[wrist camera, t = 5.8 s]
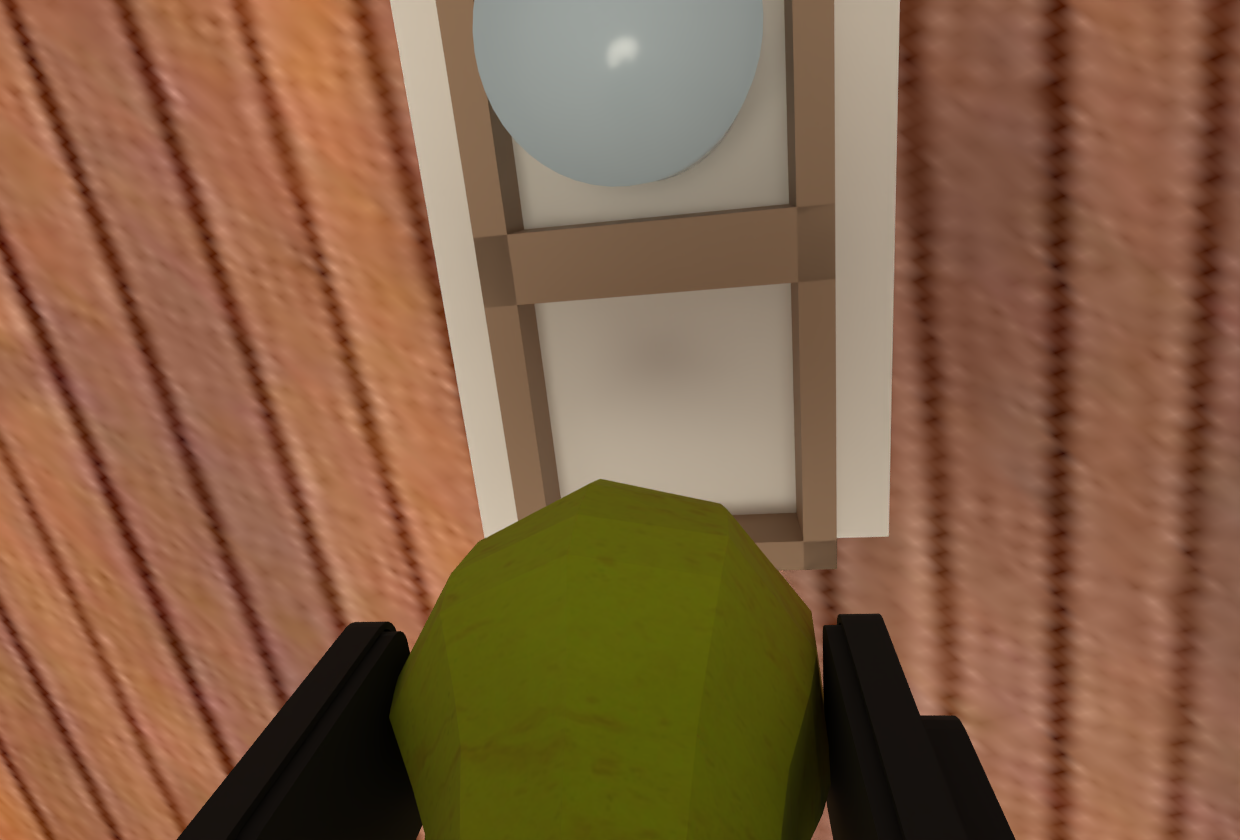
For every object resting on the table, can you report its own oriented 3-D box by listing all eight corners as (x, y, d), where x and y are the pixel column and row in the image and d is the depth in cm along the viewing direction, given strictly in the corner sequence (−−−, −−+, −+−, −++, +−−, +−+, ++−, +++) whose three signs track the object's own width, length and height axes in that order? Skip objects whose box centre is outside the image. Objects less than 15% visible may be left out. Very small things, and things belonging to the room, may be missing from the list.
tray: (892, -165, 19) (926, -228, 16) (880, 520, 25) (903, 567, 22) (391, -82, 21) (337, -125, 18) (496, 533, 27) (469, 578, 24)
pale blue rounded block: (743, -68, 19) (756, -168, 13) (752, 171, 21) (768, 171, 15) (523, -35, 20) (449, -116, 14) (551, 192, 22) (496, 199, 16)
